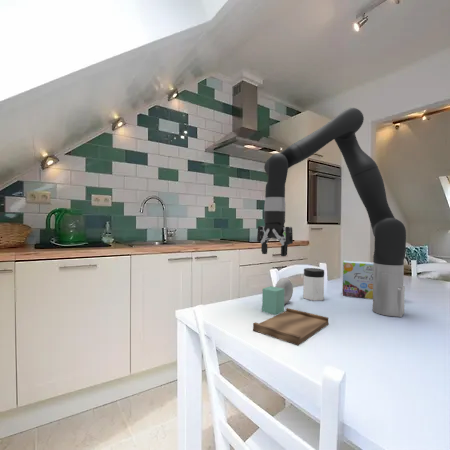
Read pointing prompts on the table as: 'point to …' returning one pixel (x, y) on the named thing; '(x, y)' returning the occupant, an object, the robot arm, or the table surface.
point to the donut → (285, 288)
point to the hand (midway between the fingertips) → (273, 255)
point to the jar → (313, 284)
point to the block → (273, 300)
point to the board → (292, 326)
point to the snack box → (358, 279)
